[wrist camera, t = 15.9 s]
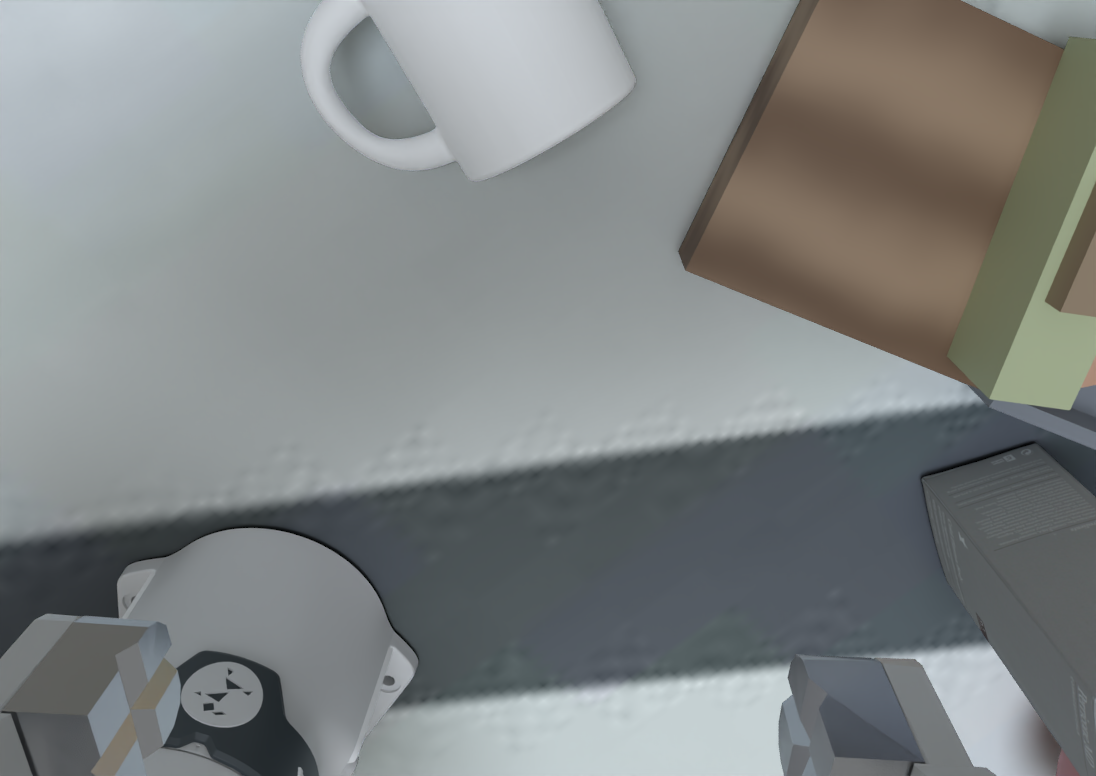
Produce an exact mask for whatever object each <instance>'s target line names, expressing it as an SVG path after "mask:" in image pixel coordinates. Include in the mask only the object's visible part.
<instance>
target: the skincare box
mask: <svg viewBox="0 0 1096 776" xmlns="http://www.w3.org/2000/svg"><path fill="white" fill-rule="evenodd" d="M921 480H922V483H923V487H924V493H925V498H926V504H927V509H928V513H929V518H930V522H931V527H932V531H933V535H934V539H935V543H936V547H937V551H938V554H939V558H940V561H941V564H942V567H943V570H944V574H945V577H946V579H947V582H948V584H949V585H950V586H951V588H952V589H953V591H954V592H955V594H956V595H957V597H958V598H959V600H960V601H961V602H962V604H963V605H964V607H965V608H966V610H967V611H968V612H969V614H970V615H971V617H972V618H973V620H974V621H975V623H976V624H977V626H978V627H979V628H980V630H981V631H982V633H983V634H984V636H985V637H986V639H987V640H988V642H989V643H990V645H991V646H992V647H993V649H994V650H995V652H996V653H997V655H998V656H999V658H1000V659H1001V661H1002V662H1003V664H1004V665H1005V666H1006V668H1007V669H1008V671H1009V672H1010V674H1011V675H1012V677H1013V678H1014V680H1015V681H1016V683H1017V684H1018V686H1019V687H1020V689H1021V690H1022V691H1023V693H1024V694H1025V696H1026V697H1027V699H1028V700H1029V702H1030V703H1031V705H1032V706H1033V707H1034V709H1035V710H1036V712H1037V713H1038V715H1039V716H1040V718H1041V719H1042V721H1043V722H1044V724H1045V725H1046V727H1047V728H1048V729H1049V731H1050V732H1051V734H1052V735H1053V737H1054V738H1055V740H1056V741H1057V743H1058V744H1059V745H1060V747H1061V748H1062V750H1063V751H1064V753H1065V754H1066V756H1067V757H1068V759H1069V760H1070V762H1071V763H1072V765H1073V766H1074V767H1075V769H1076V770H1077V772H1078V773H1079V775H1080V776H1096V497H1095V496H1094V495H1093V494H1092V493H1090V492H1089V491H1088V490H1087V489H1086V488H1085V487H1084V486H1083V485H1082V484H1081V483H1079V482H1078V481H1077V480H1076V479H1075V478H1074V477H1073V476H1072V475H1071V474H1070V473H1069V472H1068V471H1067V470H1065V469H1064V468H1063V467H1062V466H1061V465H1060V464H1059V463H1058V462H1057V461H1056V460H1055V459H1054V458H1053V457H1052V456H1050V455H1049V454H1048V453H1047V452H1046V451H1045V450H1044V449H1043V448H1042V447H1041V446H1040V445H1039V444H1037V443H1035V444H1031V445H1028V446H1024V447H1021V448H1018V449H1014V450H1011V451H1008V452H1005V453H1002V454H999V455H996V456H993V457H990V458H987V459H984V460H981V461H978V462H975V463H971V464H968V465H964V466H961V467H958V468H954V469H951V470H948V471H945V472H941V473H938V474H933V475H929V476H925V477H923V478H922V479H921Z"/></svg>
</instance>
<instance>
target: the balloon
mask: <svg viewBox="0 0 1096 776" xmlns="http://www.w3.org/2000/svg"><path fill="white" fill-rule="evenodd" d="M1056 776H1080V775H1079V773H1078V772H1077V770H1076V769H1075V767H1074V766H1073V765H1072V763H1071V762H1070V760H1069V759H1068V757H1067V756H1066V754H1065V753H1064V751H1063V750H1062V749H1061V752H1060V755H1059V759H1058V765H1057V772H1056Z"/></svg>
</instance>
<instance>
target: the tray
mask: <svg viewBox="0 0 1096 776" xmlns="http://www.w3.org/2000/svg"><path fill="white" fill-rule="evenodd" d="M967 385H968V384H967ZM968 386H969V387H970V388H971V389H972V390H973V391H974V392H975V393H976V394H977V395H978V396H979V397H980V398H981V399H982V400H983V401H984V402H985V404H986V405H987V406H988V407H990V408H993V409H995V410H998V411H1000V412H1003V413H1005V414H1008V415H1010V416H1012V417H1015V418H1017V419H1020V420H1022V421H1025V422H1027V423H1030V424H1032V425H1035V426H1037V427H1040V428H1042V429H1045V430H1047V431H1050V432H1052V433H1055V434H1057V435H1060V436H1062V437H1065V438H1067V439H1070V440H1072V441H1075V442H1077V443H1080V444H1082V445H1085V446H1087V447H1090V448H1092V449H1095V450H1096V385H1093V386H1088V387H1083V388H1080V390H1079V392H1078V394H1077V396H1076V399H1075V401H1074V403H1073V405H1072V407H1071V409H1070V410H1064V409H1057V408H1049V407H1042V406H1035V405H1028V404H1021V403H1013V402H1006V401H999V400H992V399H989V398H988V397H987V396H986V395H985V394H984V393H983V392H982V391H981V390H980V389H977V388H975V387H973V386H970V385H968Z"/></svg>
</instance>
